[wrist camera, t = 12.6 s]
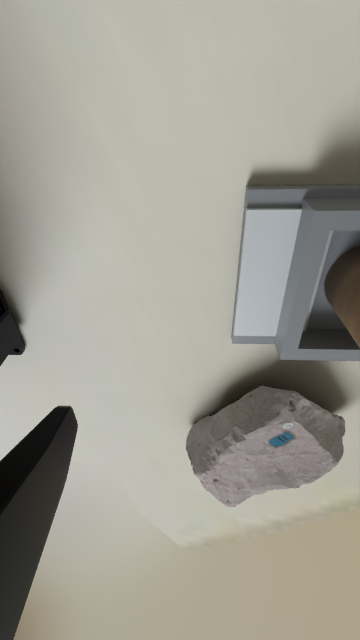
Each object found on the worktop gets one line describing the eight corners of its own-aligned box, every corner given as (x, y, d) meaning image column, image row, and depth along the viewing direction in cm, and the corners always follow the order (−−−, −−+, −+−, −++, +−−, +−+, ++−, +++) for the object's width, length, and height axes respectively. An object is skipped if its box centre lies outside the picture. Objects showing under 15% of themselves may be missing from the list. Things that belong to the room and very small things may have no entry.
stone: (289, 355, 25) (309, 418, 20) (344, 413, 29) (371, 477, 24) (171, 417, 31) (165, 476, 26) (229, 458, 35) (233, 516, 30)
